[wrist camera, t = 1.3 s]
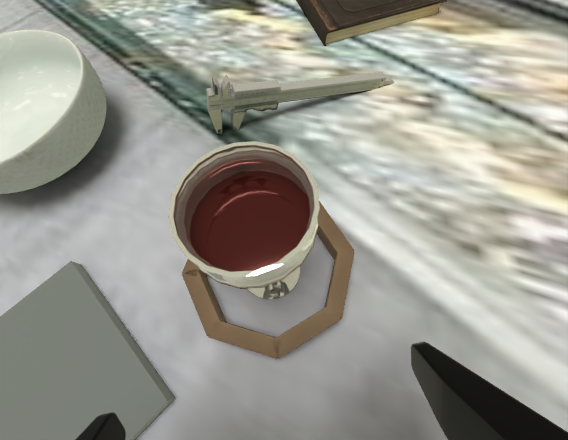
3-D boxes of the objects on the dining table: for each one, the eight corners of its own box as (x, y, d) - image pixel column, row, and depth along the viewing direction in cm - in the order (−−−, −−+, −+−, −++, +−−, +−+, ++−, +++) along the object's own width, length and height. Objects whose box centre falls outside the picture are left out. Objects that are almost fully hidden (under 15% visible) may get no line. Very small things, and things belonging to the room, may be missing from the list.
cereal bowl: (-21, 115, 32) (-101, 59, 26) (118, 72, 34) (76, 9, 28) (-33, 240, 26) (-144, 207, 19) (142, 179, 28) (93, 129, 21)
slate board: (174, 397, 20) (167, 401, 19) (-18, 597, 16) (-41, 616, 15) (81, 264, 24) (71, 261, 23) (-86, 397, 21) (-107, 400, 19)
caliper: (218, 138, 29) (199, 88, 24) (216, 130, 30) (196, 80, 24) (393, 85, 31) (414, 27, 25) (388, 79, 32) (408, 21, 26)
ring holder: (377, 296, 22) (384, 292, 20) (235, 385, 20) (229, 389, 18) (296, 181, 26) (296, 169, 25) (176, 243, 24) (166, 235, 23)
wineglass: (291, 325, 21) (281, 308, 10) (215, 289, 23) (135, 239, 12) (323, 248, 24) (343, 166, 13) (253, 220, 25) (216, 124, 14)
